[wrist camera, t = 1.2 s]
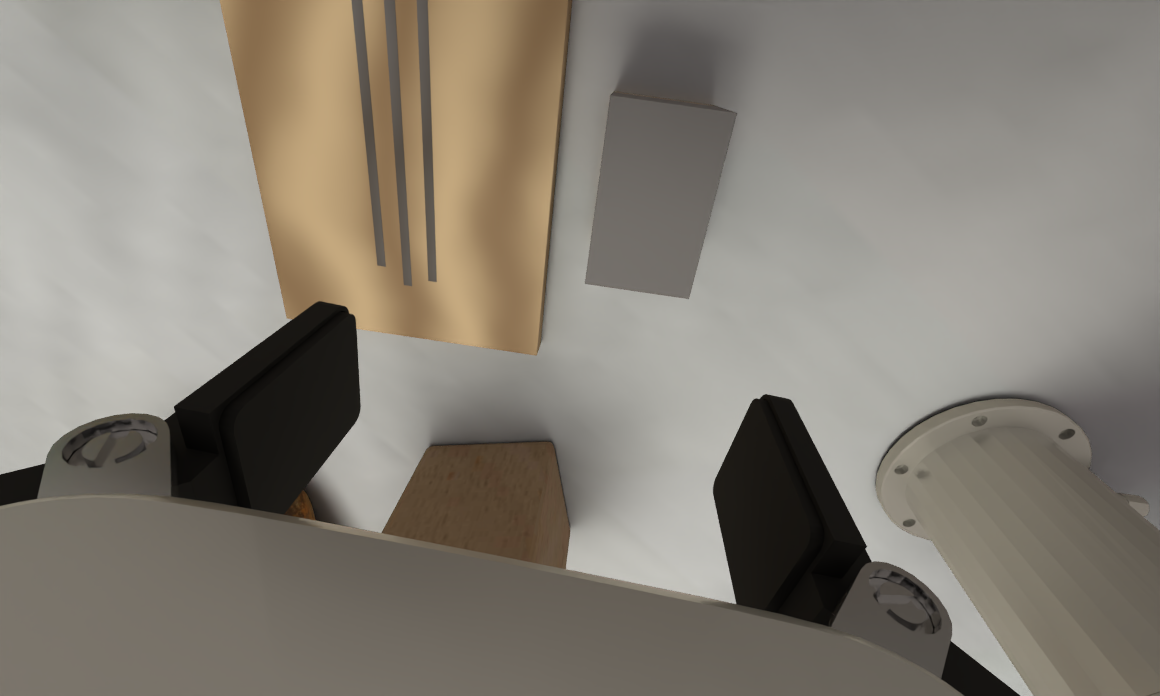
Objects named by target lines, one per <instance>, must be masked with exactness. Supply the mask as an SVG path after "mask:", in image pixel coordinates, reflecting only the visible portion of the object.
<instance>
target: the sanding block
mask: <svg viewBox="0 0 1160 696" xmlns="http://www.w3.org/2000/svg"><path fill="white" fill-rule="evenodd" d="M736 115H737V113H735V112H732V111H729V110H726V109H723V108H720V107H717V106H714V105H707V104H700V103H693V102H686V101H679V100H672V99H664V98H657V97H650V96H643V95H636V94H629V93H622V92H615V91H614V92H613V93H612V94H611V96H610V103H609V110H608V118H607V125H606V133H605V140H604V147H603V155H602V162H601V169H600V177H599V184H598V191H597V199H596V206H595V213H594V221H593V228H592V235H591V243H590V250H589V257H588V265H587V272H586V279H585V284H590V285H597V286H604V287H611V288H618V289H624V290H631V291H638V292H645V293H652V294H658V295H665V296H672V297H679V298H686V299H689V297H690V293H691V289H692V285H693V281H694V277H695V273H696V270H697V266H698V262H699V258H700V254H701V250H702V246H703V243H704V239H705V235H706V231H707V227H708V223H709V219H710V216H711V212H712V208H713V204H714V200H715V196H716V192H717V189H718V185H719V181H720V177H721V173H722V169H723V165H724V161H725V158H726V154H727V150H728V146H729V142H730V138H731V134H732V131H733V127H734V123H735V119H736Z"/></svg>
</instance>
